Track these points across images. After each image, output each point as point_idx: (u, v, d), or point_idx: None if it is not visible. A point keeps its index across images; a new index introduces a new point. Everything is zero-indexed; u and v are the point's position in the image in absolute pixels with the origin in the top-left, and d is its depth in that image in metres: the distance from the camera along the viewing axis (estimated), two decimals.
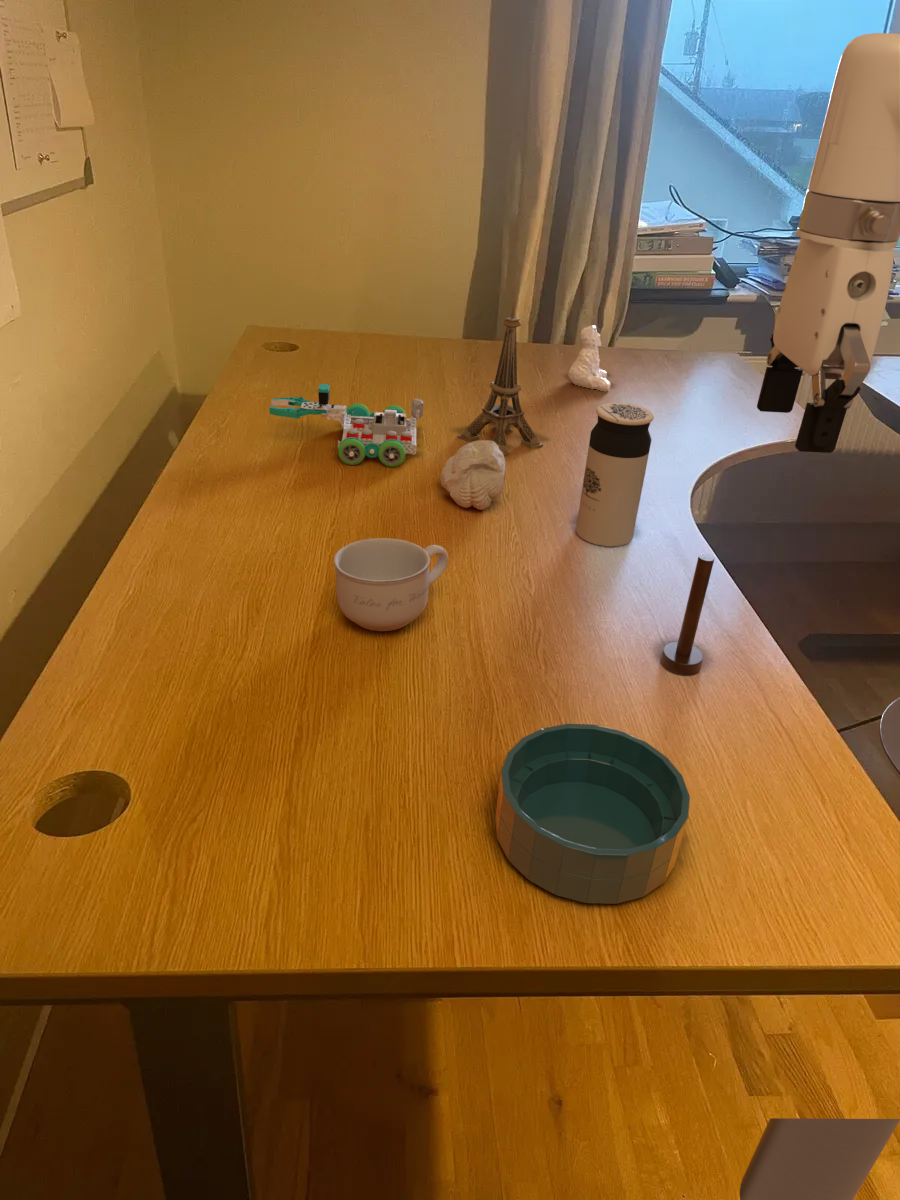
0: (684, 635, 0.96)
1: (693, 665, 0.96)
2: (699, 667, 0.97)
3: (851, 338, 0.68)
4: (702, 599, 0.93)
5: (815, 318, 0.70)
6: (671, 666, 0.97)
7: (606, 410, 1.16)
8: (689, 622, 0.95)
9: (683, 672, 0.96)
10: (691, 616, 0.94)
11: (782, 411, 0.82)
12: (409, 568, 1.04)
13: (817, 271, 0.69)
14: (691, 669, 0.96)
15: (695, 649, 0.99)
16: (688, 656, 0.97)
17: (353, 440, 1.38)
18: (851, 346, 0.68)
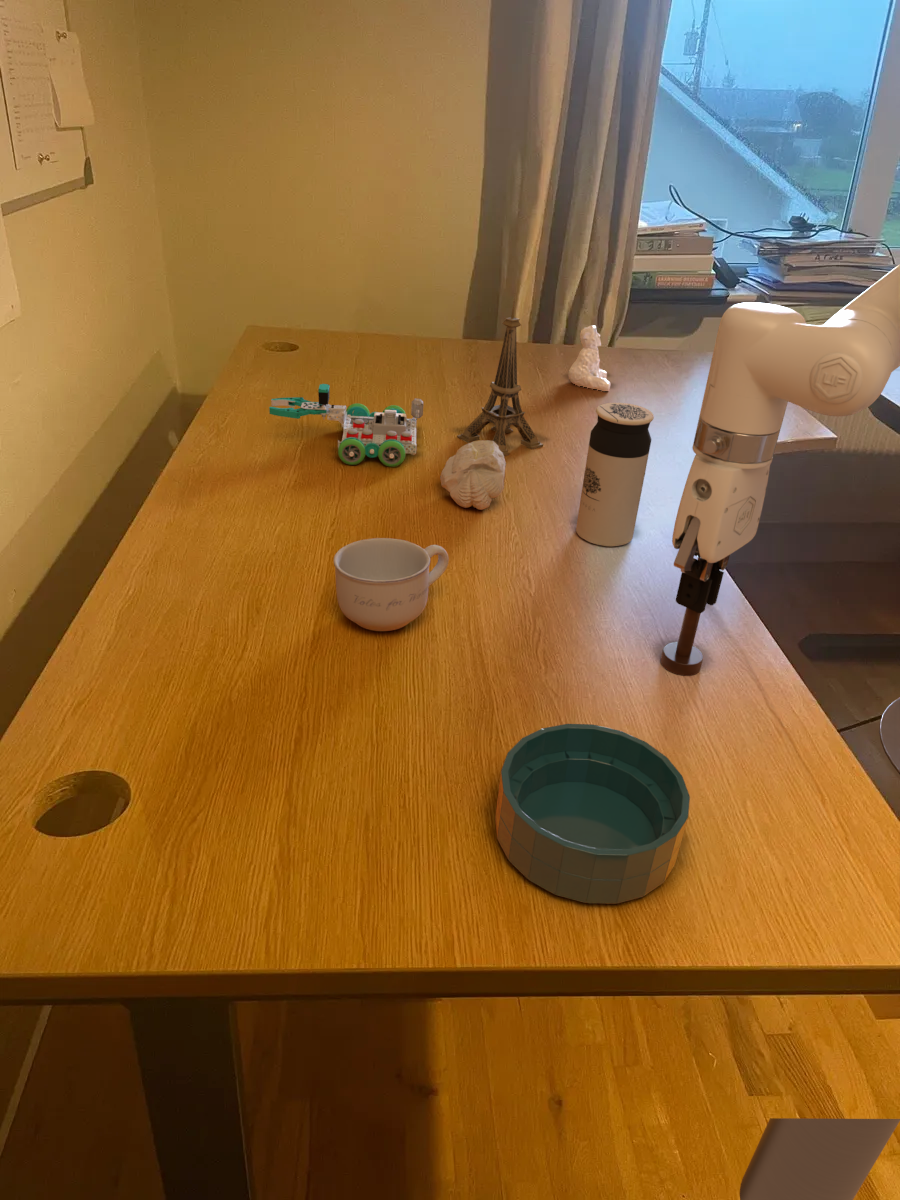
0: (684, 635, 0.96)
1: (693, 665, 0.96)
2: (699, 667, 0.97)
3: (687, 538, 0.87)
4: None
5: None
6: (671, 666, 0.97)
7: (606, 410, 1.16)
8: (689, 622, 0.95)
9: (683, 672, 0.96)
10: (691, 616, 0.94)
11: None
12: (409, 568, 1.04)
13: None
14: (691, 669, 0.96)
15: (695, 649, 0.99)
16: (688, 656, 0.97)
17: (353, 440, 1.38)
18: (682, 545, 0.87)
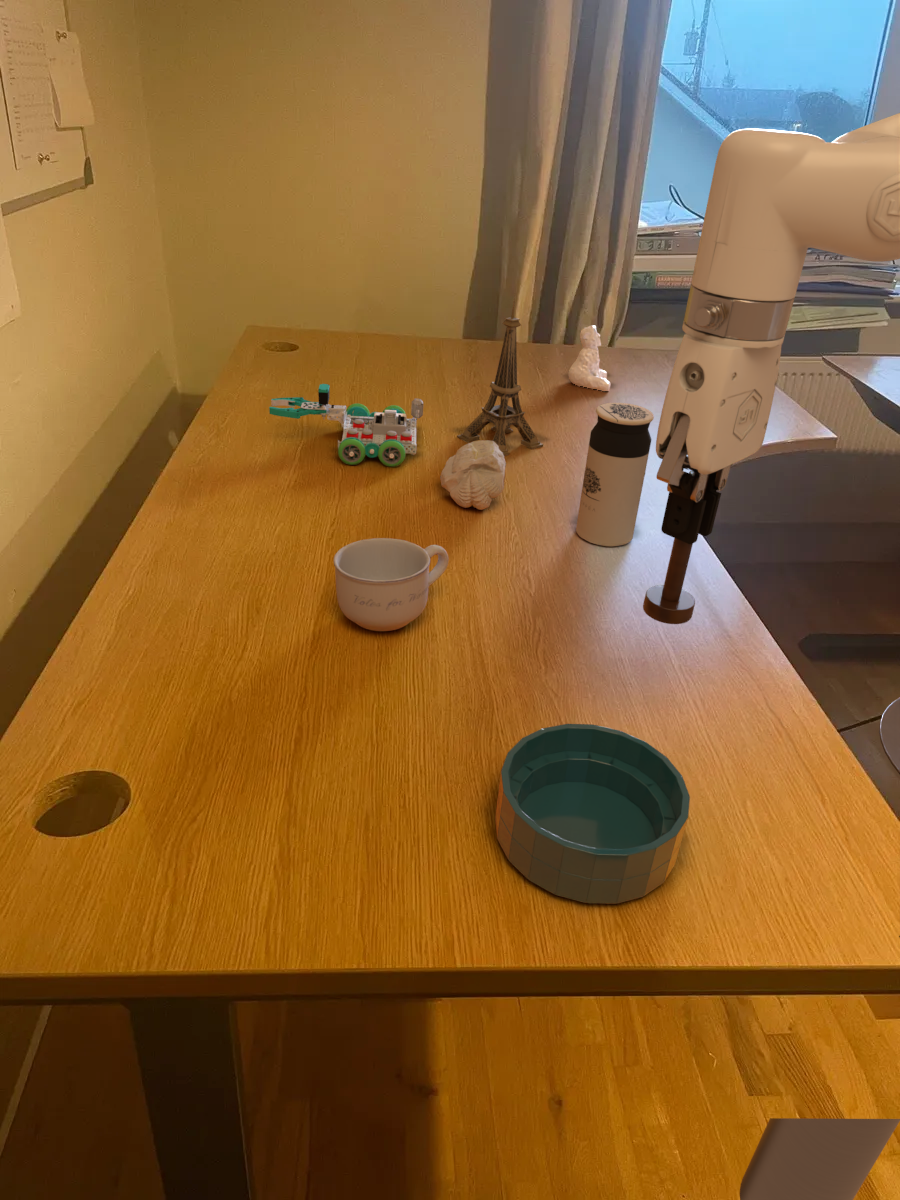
0: (671, 574, 0.78)
1: (682, 611, 0.78)
2: (690, 614, 0.79)
3: (673, 442, 0.68)
4: None
5: None
6: (655, 612, 0.79)
7: (606, 410, 1.16)
8: (678, 557, 0.77)
9: (670, 620, 0.78)
10: (680, 549, 0.76)
11: None
12: (409, 568, 1.04)
13: None
14: (680, 616, 0.78)
15: (685, 593, 0.80)
16: (676, 601, 0.79)
17: (353, 440, 1.38)
18: (667, 452, 0.69)
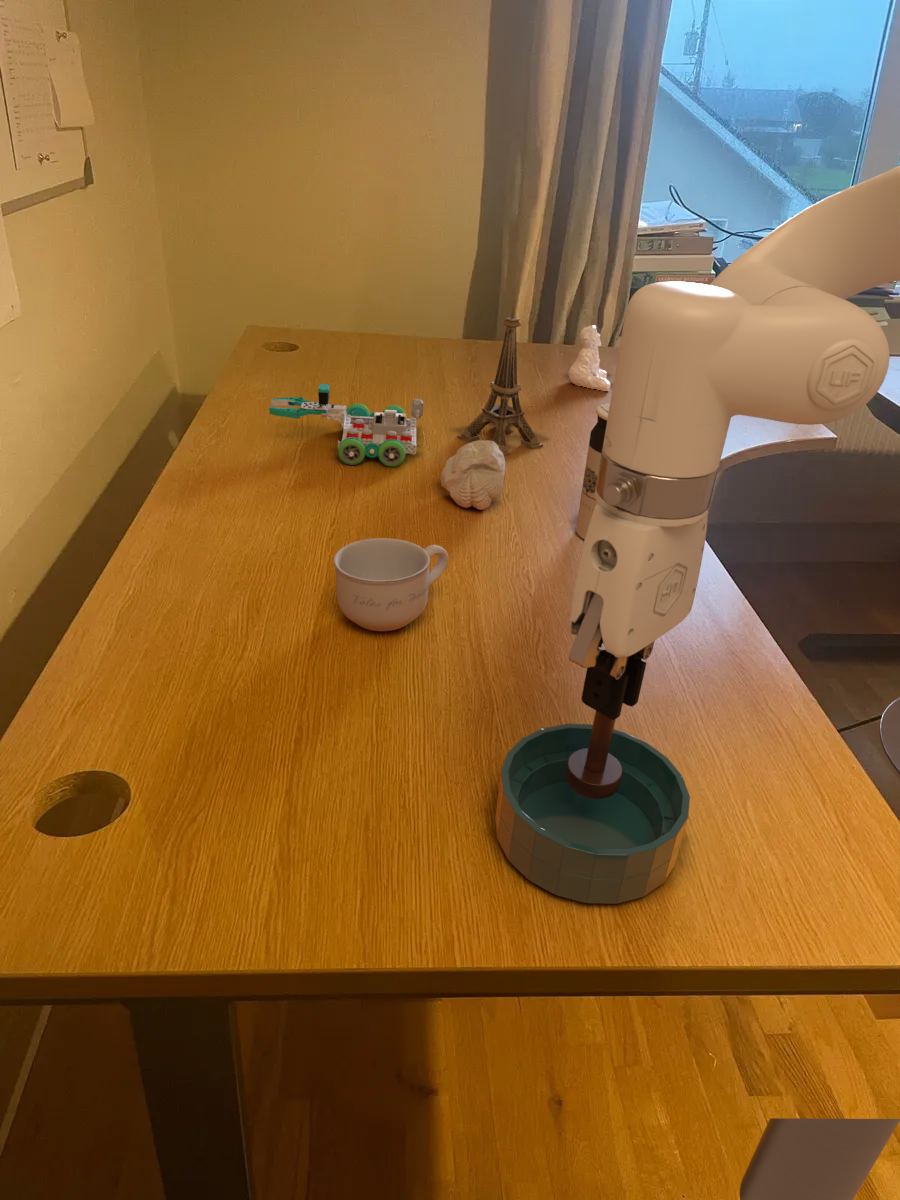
0: (594, 744, 0.70)
1: (607, 786, 0.70)
2: (616, 787, 0.71)
3: (587, 622, 0.60)
4: None
5: None
6: (577, 786, 0.70)
7: (606, 410, 1.16)
8: (600, 728, 0.69)
9: (594, 795, 0.70)
10: (602, 720, 0.68)
11: None
12: (409, 568, 1.04)
13: None
14: (604, 791, 0.70)
15: (612, 760, 0.72)
16: (601, 771, 0.71)
17: (353, 440, 1.38)
18: (579, 632, 0.60)
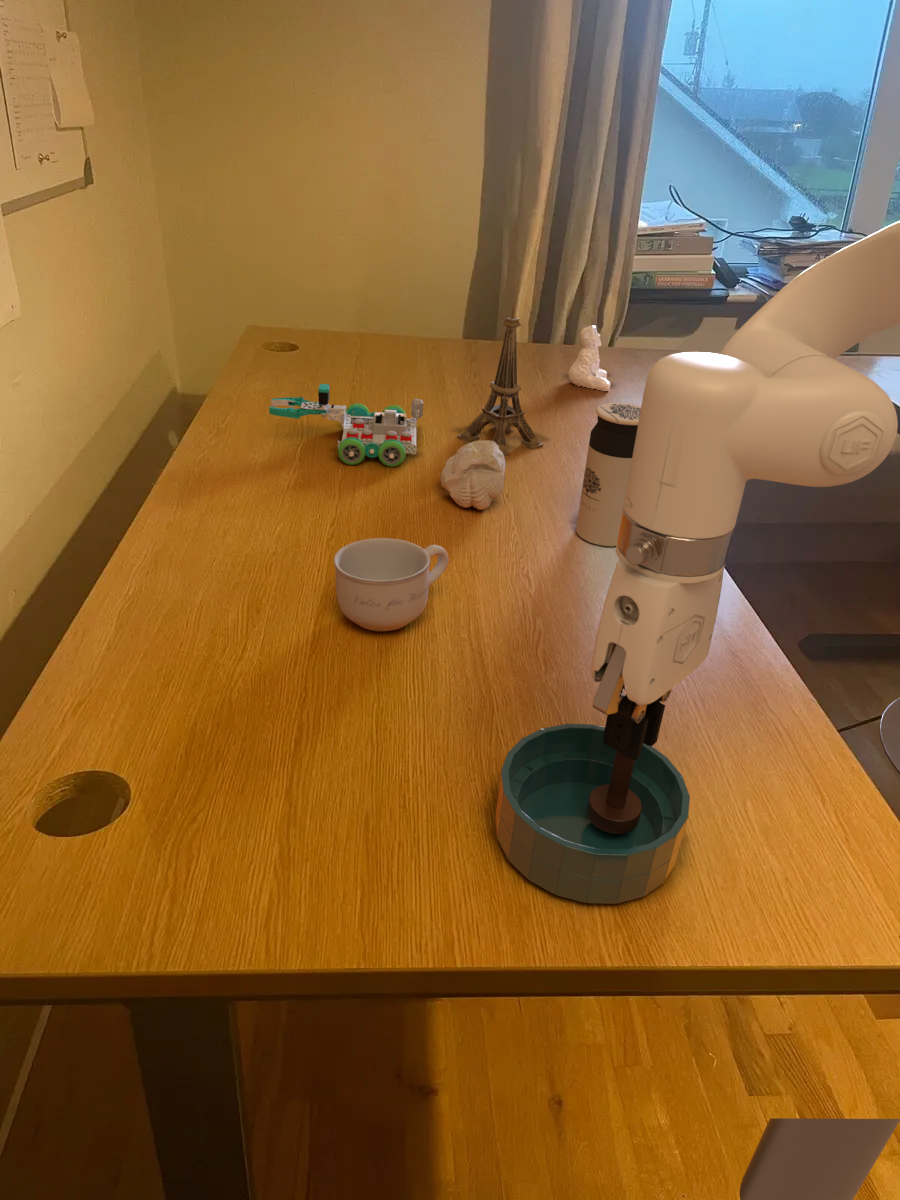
0: (615, 782, 0.72)
1: (627, 822, 0.73)
2: (636, 822, 0.74)
3: (609, 671, 0.63)
4: None
5: None
6: (599, 821, 0.73)
7: (606, 410, 1.16)
8: (621, 767, 0.71)
9: (615, 830, 0.73)
10: (623, 760, 0.71)
11: None
12: (409, 568, 1.04)
13: None
14: (625, 826, 0.73)
15: (632, 795, 0.75)
16: (622, 807, 0.74)
17: (353, 440, 1.38)
18: (602, 681, 0.63)
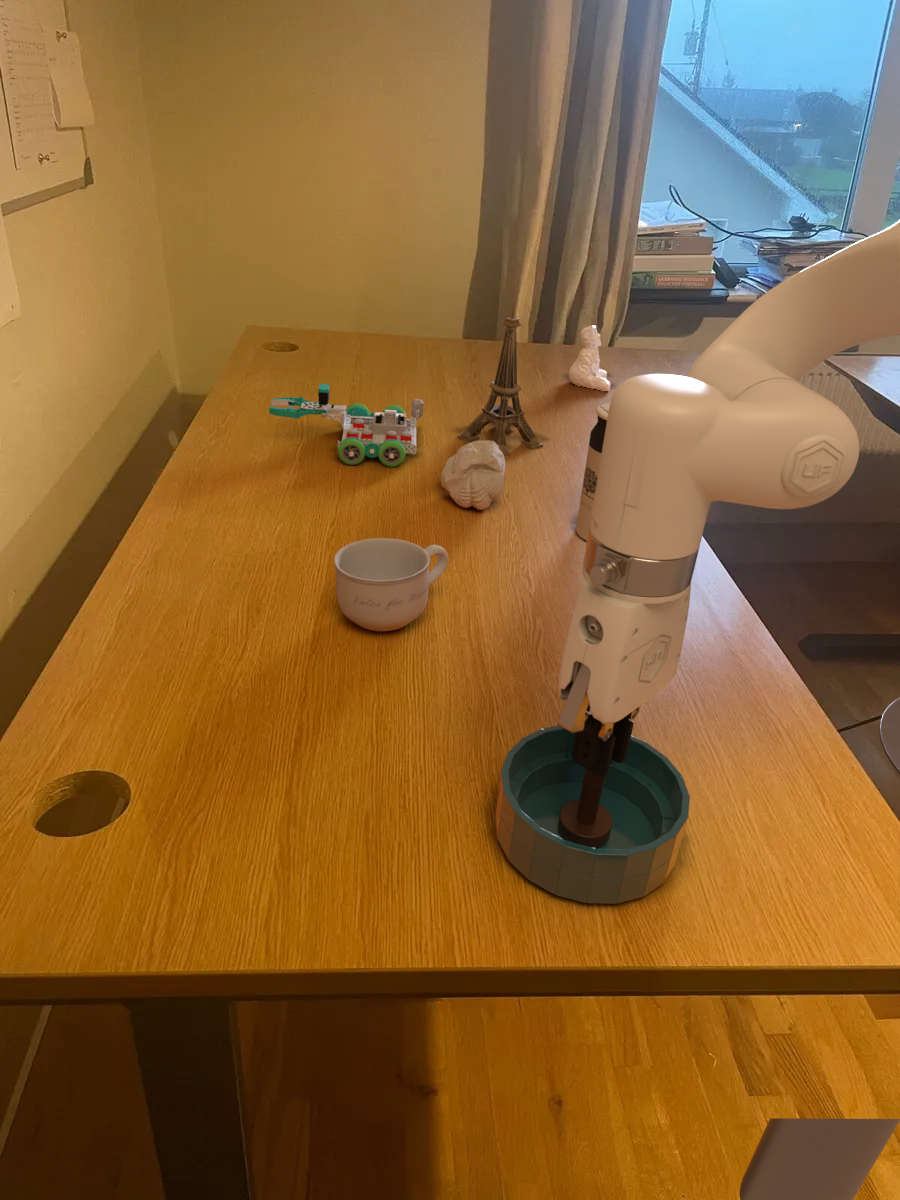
0: (585, 798, 0.73)
1: (597, 838, 0.73)
2: (606, 838, 0.74)
3: (575, 690, 0.63)
4: None
5: None
6: (569, 837, 0.73)
7: (606, 410, 1.16)
8: (590, 784, 0.72)
9: None
10: (592, 776, 0.71)
11: (611, 758, 0.71)
12: (409, 568, 1.04)
13: None
14: (595, 842, 0.73)
15: (603, 811, 0.75)
16: (592, 823, 0.74)
17: (353, 440, 1.38)
18: (568, 699, 0.63)
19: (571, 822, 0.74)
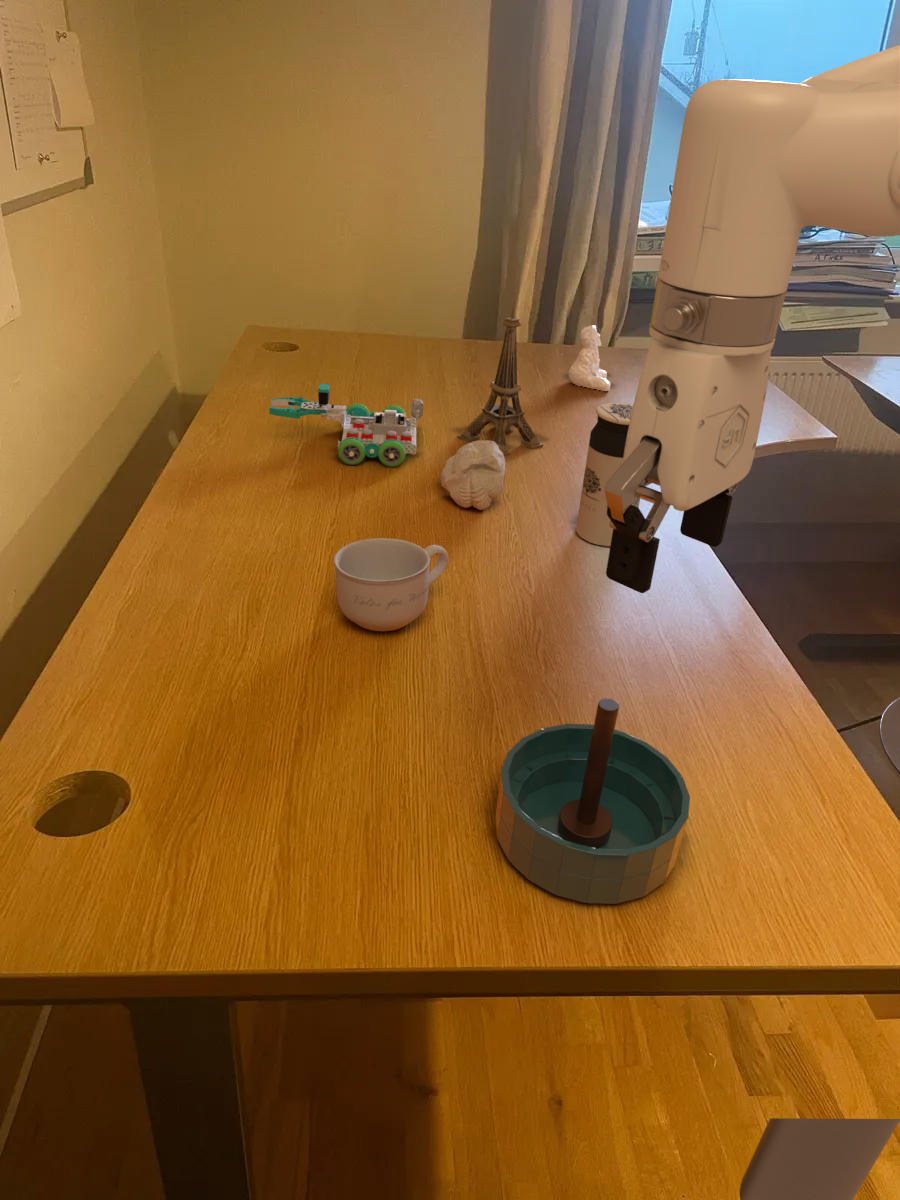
0: (585, 798, 0.73)
1: (597, 838, 0.73)
2: (606, 838, 0.74)
3: (637, 453, 0.54)
4: (605, 756, 0.70)
5: None
6: (569, 837, 0.73)
7: (606, 410, 1.16)
8: (591, 784, 0.72)
9: None
10: (592, 776, 0.71)
11: (705, 542, 0.65)
12: (409, 568, 1.04)
13: None
14: (595, 842, 0.73)
15: (603, 811, 0.75)
16: (592, 823, 0.74)
17: (353, 440, 1.38)
18: (626, 462, 0.54)
19: (571, 822, 0.74)
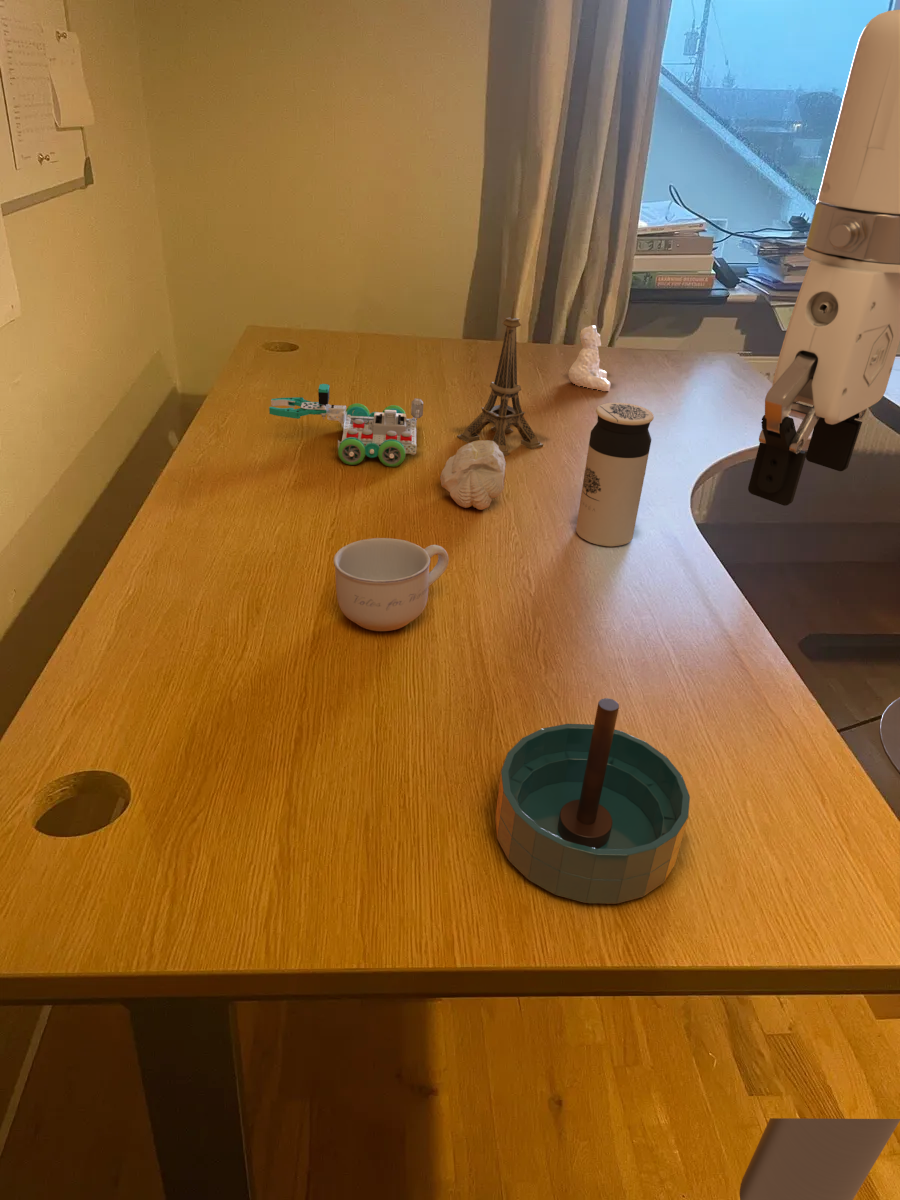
0: (585, 798, 0.73)
1: (597, 838, 0.73)
2: (606, 838, 0.74)
3: (794, 367, 0.58)
4: (605, 756, 0.70)
5: None
6: (569, 837, 0.73)
7: (606, 410, 1.16)
8: (591, 784, 0.72)
9: None
10: (592, 776, 0.71)
11: (832, 467, 0.69)
12: (409, 568, 1.04)
13: None
14: (595, 842, 0.73)
15: (603, 811, 0.75)
16: (592, 823, 0.74)
17: (353, 440, 1.38)
18: (784, 374, 0.58)
19: (571, 822, 0.74)
